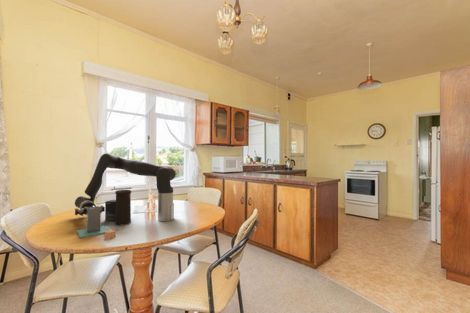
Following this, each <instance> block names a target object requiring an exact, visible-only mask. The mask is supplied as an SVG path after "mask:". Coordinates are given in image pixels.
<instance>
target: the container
mask: <svg viewBox="0 0 470 313" xmlns="http://www.w3.org/2000/svg"><path fill="white" fill-rule="evenodd" d="M114 194H115V200H116V213H115V221H114V223H115V224H114V225H116V226H124V225H128V224H130V223H131V222H132V221H131V220H132V218H131V217H132V213H131V211H132V209H131V207H132V206H131V204H132V203H131V194H132V190H130V189H118V190H115V192H114Z"/></svg>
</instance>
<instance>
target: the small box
mask: <svg viewBox="0 0 470 313" xmlns="http://www.w3.org/2000/svg"><path fill="white" fill-rule="evenodd" d="M104 204H105V206H104V207H105V211H104V213H105V215H104V221H106V222H107V221H109V222H115V213H116V199H111V200H106V201H104Z"/></svg>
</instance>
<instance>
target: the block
mask: <svg viewBox="0 0 470 313" xmlns="http://www.w3.org/2000/svg"><path fill="white" fill-rule="evenodd" d="M108 230H109V229H108ZM104 238H105V239H106V240H111V239H114V238H116V230H114V229H110V230H109V231H106V232H105V234H104Z"/></svg>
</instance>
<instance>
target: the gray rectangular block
mask: <svg viewBox="0 0 470 313" xmlns="http://www.w3.org/2000/svg"><path fill="white" fill-rule="evenodd" d="M101 214H102V212H101V208H100V206H99V205H98V206H97V207H88V208H87V215H86V228H87V232H88V233H91V232H97V231H100V226H101V219H102V218H101Z"/></svg>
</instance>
